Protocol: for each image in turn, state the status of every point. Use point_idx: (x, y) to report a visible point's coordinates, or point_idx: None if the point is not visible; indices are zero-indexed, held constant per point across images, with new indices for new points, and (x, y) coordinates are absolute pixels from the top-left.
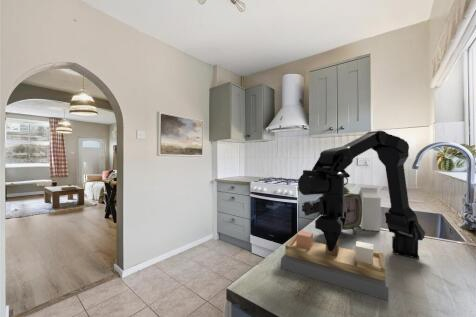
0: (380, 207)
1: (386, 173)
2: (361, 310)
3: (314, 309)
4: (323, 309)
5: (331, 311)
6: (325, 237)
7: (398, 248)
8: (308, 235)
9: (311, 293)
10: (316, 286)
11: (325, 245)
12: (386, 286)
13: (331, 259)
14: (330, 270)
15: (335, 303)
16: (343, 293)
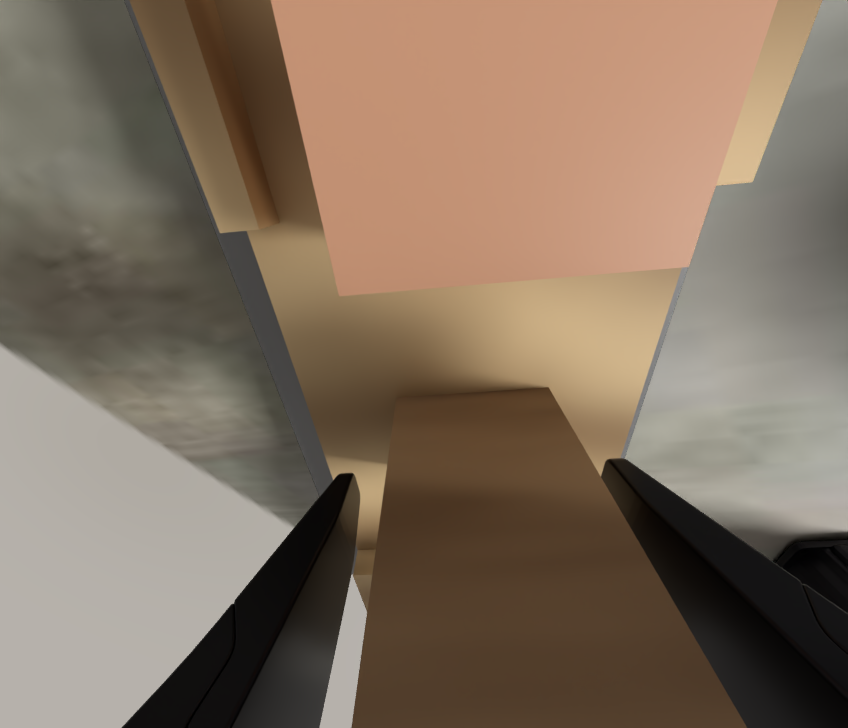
0: None
1: None
2: (230, 480)
3: (53, 364)
4: (95, 391)
5: (119, 414)
6: (192, 655)
7: (830, 573)
8: (415, 230)
9: (137, 321)
10: (219, 324)
11: (625, 349)
12: (352, 571)
13: (332, 447)
14: (302, 409)
15: (180, 417)
16: (277, 428)
